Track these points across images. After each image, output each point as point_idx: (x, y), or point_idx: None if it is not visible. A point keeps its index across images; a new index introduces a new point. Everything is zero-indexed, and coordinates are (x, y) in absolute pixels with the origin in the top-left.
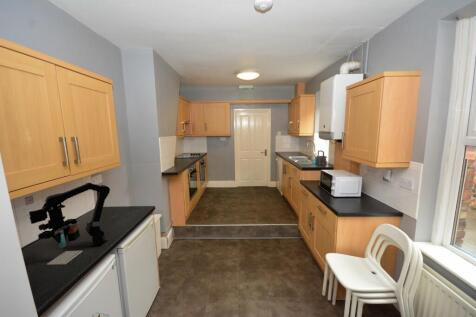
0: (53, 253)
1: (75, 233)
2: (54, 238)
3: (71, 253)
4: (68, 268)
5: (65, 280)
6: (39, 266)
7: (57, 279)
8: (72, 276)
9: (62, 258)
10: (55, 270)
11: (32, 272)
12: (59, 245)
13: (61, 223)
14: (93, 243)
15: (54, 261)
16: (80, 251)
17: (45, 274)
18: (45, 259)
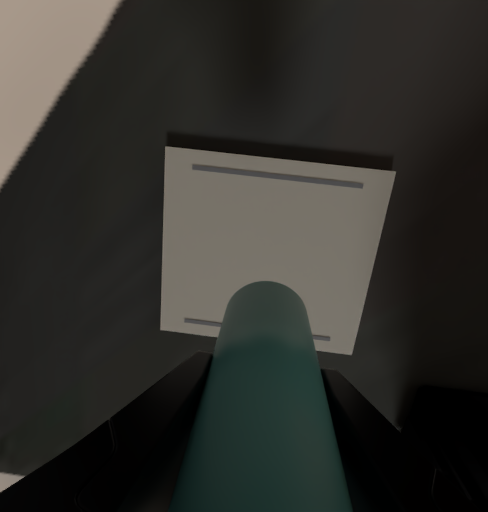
0: (408, 3)
1: None
2: (79, 461)
3: (322, 279)
4: (115, 384)
5: (6, 441)
6: (152, 73)
7: (8, 388)
8: (40, 458)
9: (244, 247)
10: (93, 301)
11: (64, 90)
12: (223, 320)
13: None
14: (418, 445)
15: (201, 200)
16: (339, 346)
17: (46, 256)
18: (281, 14)
